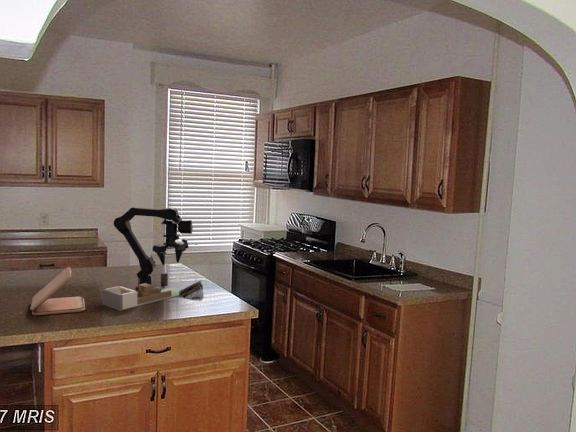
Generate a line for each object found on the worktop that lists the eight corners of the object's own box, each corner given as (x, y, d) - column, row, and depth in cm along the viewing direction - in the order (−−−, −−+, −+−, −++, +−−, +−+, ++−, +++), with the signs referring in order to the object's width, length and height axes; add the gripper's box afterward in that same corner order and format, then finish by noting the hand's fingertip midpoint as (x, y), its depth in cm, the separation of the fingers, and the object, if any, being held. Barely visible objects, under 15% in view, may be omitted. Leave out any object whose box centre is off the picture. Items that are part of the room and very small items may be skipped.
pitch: (102, 304, 220) (102, 298, 219) (172, 288, 252) (172, 283, 251) (120, 310, 212) (120, 304, 212) (190, 293, 244) (190, 287, 244)
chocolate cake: (180, 301, 232) (199, 283, 233) (177, 293, 238) (195, 276, 239) (193, 311, 238) (212, 294, 238) (189, 303, 244) (207, 286, 244)
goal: (102, 303, 220) (102, 289, 219) (119, 299, 227) (119, 285, 226) (120, 310, 212) (120, 295, 211) (137, 305, 219) (137, 291, 218)
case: (33, 302, 218) (32, 267, 216) (84, 299, 227) (84, 264, 225) (29, 317, 200) (28, 278, 198) (85, 312, 208) (85, 275, 206)
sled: (138, 297, 230) (138, 277, 229) (163, 291, 242) (163, 272, 241) (145, 299, 227) (145, 279, 226) (169, 293, 239) (170, 274, 238)
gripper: (167, 237, 234) (166, 269, 236) (196, 233, 249) (195, 263, 251) (152, 234, 241) (151, 265, 243) (181, 230, 256) (180, 260, 258)
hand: (170, 263), depth 248 cm, fingers open, 9 cm apart
